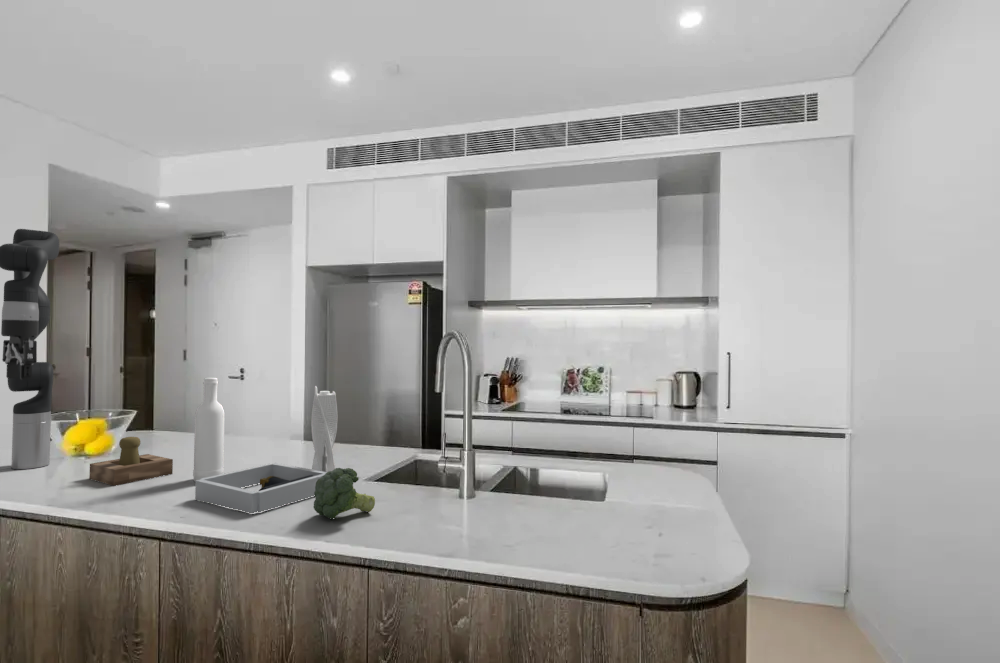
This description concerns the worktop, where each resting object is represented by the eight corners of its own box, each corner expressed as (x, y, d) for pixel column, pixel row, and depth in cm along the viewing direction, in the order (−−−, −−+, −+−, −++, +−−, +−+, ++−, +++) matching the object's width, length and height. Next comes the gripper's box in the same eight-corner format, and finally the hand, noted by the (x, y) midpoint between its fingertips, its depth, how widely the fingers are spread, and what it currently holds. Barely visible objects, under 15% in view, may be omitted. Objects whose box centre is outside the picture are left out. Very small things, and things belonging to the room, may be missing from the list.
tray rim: (193, 499, 139) (193, 480, 139) (273, 479, 160) (273, 462, 161) (254, 515, 127) (254, 494, 128) (331, 491, 149) (332, 473, 149)
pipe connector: (241, 481, 139) (289, 469, 152) (240, 502, 139) (289, 488, 152) (270, 488, 133) (318, 475, 146) (270, 510, 133) (317, 495, 146)
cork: (131, 476, 157) (133, 439, 157) (111, 476, 157) (112, 438, 157) (146, 471, 163) (146, 435, 163) (126, 471, 163) (127, 435, 163)
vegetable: (384, 512, 125) (325, 491, 118) (355, 542, 129) (296, 523, 122) (386, 471, 134) (331, 450, 128) (358, 500, 139) (304, 481, 132)
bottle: (227, 479, 160) (229, 378, 160) (198, 484, 154) (201, 379, 154) (217, 474, 165) (219, 376, 166) (189, 479, 159) (191, 377, 160)
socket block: (89, 479, 158) (89, 463, 158) (147, 468, 172) (147, 454, 172) (114, 485, 151) (114, 469, 151) (172, 474, 165) (172, 459, 165)
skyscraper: (301, 482, 158) (303, 386, 158) (320, 475, 165) (322, 384, 166) (324, 485, 155) (326, 387, 155) (343, 478, 162) (344, 385, 163)
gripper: (49, 319, 146) (47, 379, 146) (26, 319, 153) (24, 376, 153) (14, 318, 140) (12, 380, 139) (-9, 318, 146) (-11, 378, 146)
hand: (18, 378), depth 146 cm, fingers open, 8 cm apart
